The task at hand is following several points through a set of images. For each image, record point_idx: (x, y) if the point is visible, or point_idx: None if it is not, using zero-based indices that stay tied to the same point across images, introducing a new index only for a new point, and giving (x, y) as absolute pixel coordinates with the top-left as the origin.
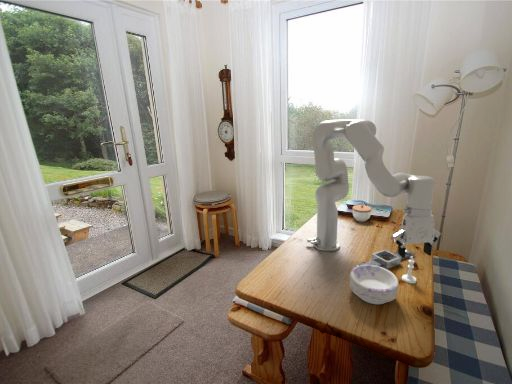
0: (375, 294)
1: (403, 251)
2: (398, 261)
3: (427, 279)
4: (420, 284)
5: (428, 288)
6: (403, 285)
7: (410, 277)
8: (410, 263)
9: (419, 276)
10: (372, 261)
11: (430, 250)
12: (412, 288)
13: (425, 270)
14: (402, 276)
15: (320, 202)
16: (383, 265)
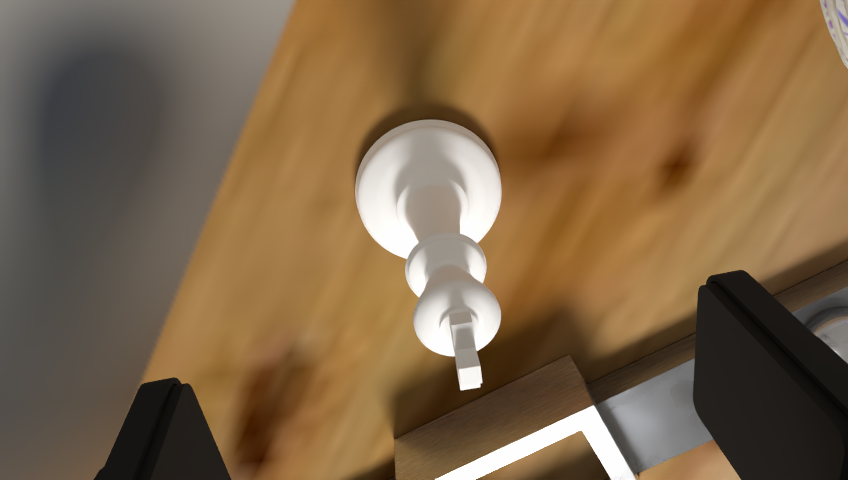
0: None
1: (833, 366)
2: (425, 454)
3: (225, 205)
4: (341, 108)
5: (283, 34)
6: (540, 79)
7: (436, 179)
8: (478, 282)
9: (290, 253)
10: (676, 440)
11: (127, 467)
12: (467, 25)
13: (183, 358)
14: (493, 219)
15: None
16: (591, 393)
